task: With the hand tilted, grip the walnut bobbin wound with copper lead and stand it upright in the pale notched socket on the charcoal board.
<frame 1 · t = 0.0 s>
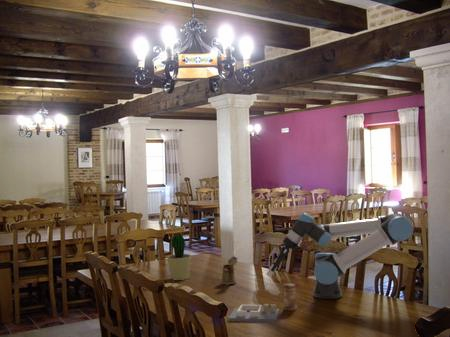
hand: (269, 272, 254), 15 cm above the table, tool tilted 35°, fingers open, 13 cm apart
potted cactus: (180, 279, 315), on the table
board: (254, 316, 231), on the table
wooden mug: (230, 284, 294), on the table
bobbin: (290, 309, 240), on the table
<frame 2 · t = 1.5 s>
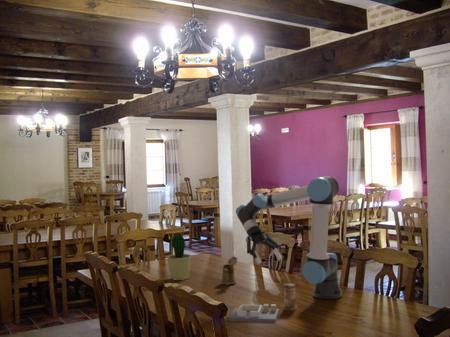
hand: (270, 261, 252), 22 cm above the table, tool tilted 45°, fingers open, 13 cm apart
nothing on the table moved.
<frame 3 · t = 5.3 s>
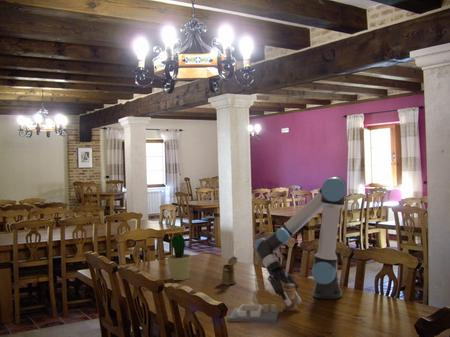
hand: (294, 303, 237), 4 cm above the table, tool tilted 45°, fingers closed on bobbin, 6 cm apart
bobbin: (290, 308, 240), on the table, touching gripper
everything else where it was.
when the fingers open (6 cm above the table, at t = 12.0 s): bobbin stays where it is, resting on board.
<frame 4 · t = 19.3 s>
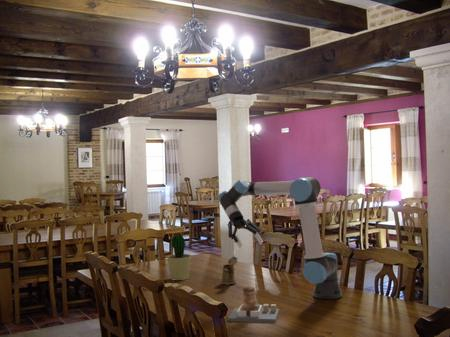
hand: (251, 244, 257), 30 cm above the table, tool tilted 45°, fingers open, 13 cm apart
bobbin: (249, 313, 231), point 1 cm above the table, touching board
everything else where it was.
at the end: bobbin 0.1 cm from the target spot on the board, point 1.5 cm above the board's base; bobbin tilted 0°; the gripper is holding nothing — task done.
